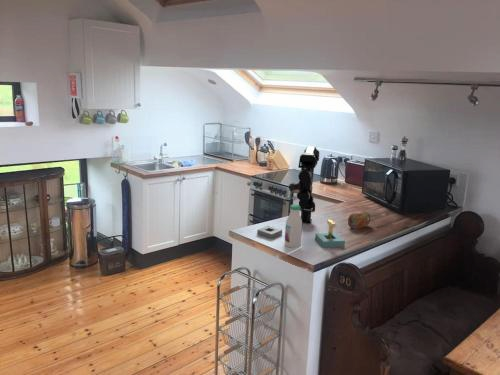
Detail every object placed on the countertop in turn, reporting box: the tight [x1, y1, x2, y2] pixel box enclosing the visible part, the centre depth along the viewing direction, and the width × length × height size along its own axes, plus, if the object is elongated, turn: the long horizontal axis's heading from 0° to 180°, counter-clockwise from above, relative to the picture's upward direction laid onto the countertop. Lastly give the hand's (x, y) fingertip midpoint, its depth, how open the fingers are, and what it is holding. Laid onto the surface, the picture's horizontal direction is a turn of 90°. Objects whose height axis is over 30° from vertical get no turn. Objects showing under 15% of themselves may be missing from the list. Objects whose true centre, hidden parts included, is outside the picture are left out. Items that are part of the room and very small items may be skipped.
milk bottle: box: [284, 204, 303, 249], centre depth 204 cm, size 8×8×20 cm
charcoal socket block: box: [256, 225, 283, 240], centre depth 218 cm, size 9×9×3 cm
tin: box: [347, 211, 371, 230], centre depth 237 cm, size 15×3×8 cm, turn 122°
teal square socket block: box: [314, 232, 346, 248], centre depth 212 cm, size 11×11×3 cm
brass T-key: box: [327, 219, 337, 239], centre depth 211 cm, size 6×2×10 cm, turn 12°
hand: (303, 207), depth 223 cm, fingers open, 9 cm apart
